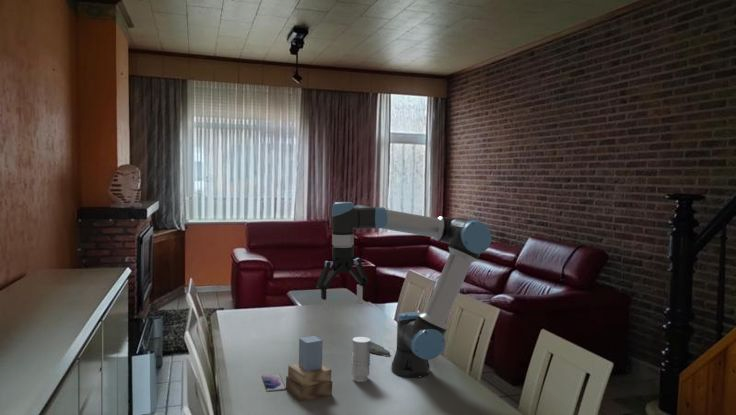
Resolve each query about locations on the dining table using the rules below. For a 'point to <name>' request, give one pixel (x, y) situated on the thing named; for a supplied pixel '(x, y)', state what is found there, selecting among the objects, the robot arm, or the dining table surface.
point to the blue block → (310, 353)
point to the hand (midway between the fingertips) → (343, 305)
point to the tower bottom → (308, 390)
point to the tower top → (309, 375)
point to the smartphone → (273, 382)
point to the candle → (360, 359)
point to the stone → (378, 349)
